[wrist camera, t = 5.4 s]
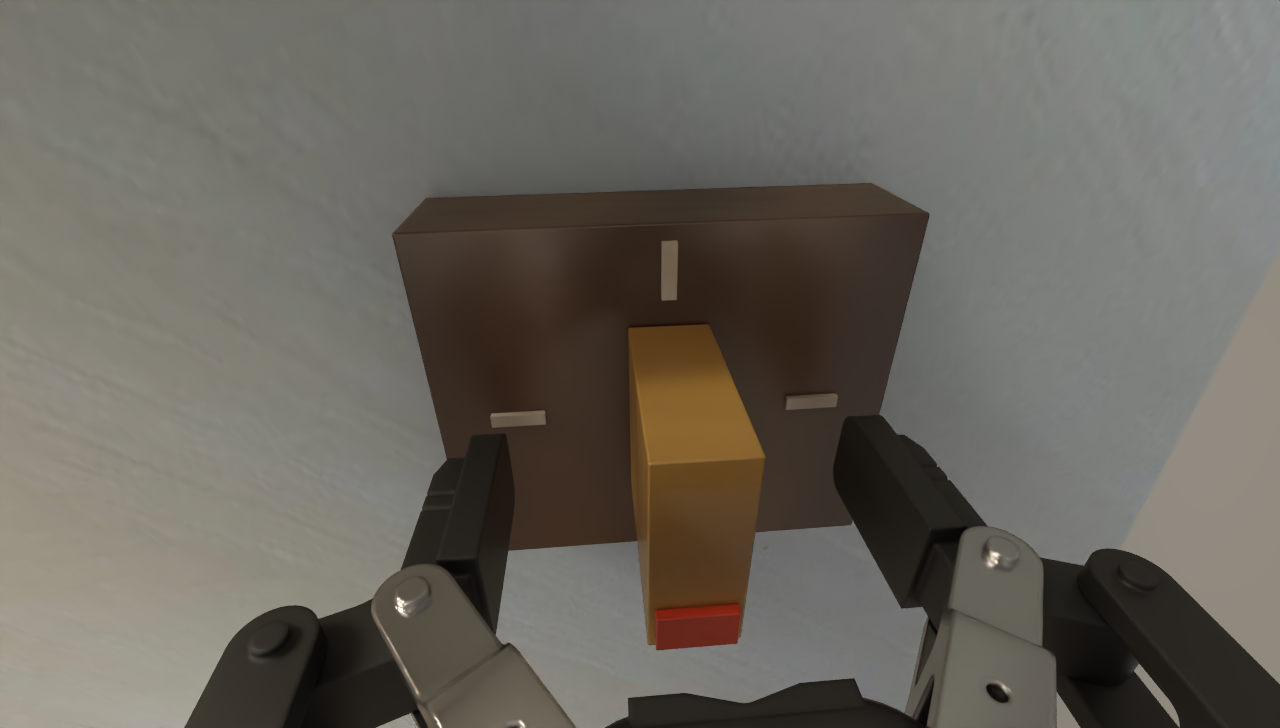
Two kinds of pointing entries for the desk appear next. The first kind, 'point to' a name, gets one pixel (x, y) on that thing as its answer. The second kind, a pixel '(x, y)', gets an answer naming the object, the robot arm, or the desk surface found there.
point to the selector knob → (691, 486)
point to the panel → (651, 297)
